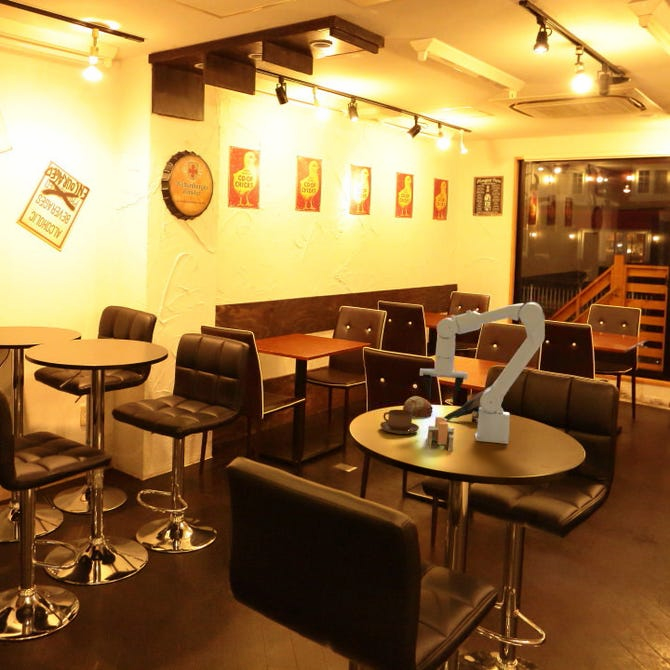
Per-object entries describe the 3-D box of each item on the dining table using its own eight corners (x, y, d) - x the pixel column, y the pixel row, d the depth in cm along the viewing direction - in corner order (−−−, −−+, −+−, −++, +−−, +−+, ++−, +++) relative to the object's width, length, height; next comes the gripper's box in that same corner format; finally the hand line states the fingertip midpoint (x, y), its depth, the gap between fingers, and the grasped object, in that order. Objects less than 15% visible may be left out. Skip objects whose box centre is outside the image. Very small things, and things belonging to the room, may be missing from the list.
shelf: (452, 439, 217) (454, 422, 217) (452, 451, 206) (454, 432, 205) (428, 437, 219) (429, 420, 218) (426, 448, 207) (427, 430, 206)
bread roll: (407, 420, 254) (399, 399, 253) (434, 410, 252) (426, 389, 251) (406, 427, 244) (397, 405, 243) (435, 416, 242) (426, 395, 242)
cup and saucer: (375, 433, 221) (376, 414, 220) (385, 424, 232) (386, 406, 231) (413, 439, 217) (415, 419, 216) (422, 429, 228) (423, 410, 227)
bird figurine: (448, 422, 235) (482, 371, 234) (439, 415, 245) (472, 366, 244) (480, 443, 237) (514, 393, 237) (470, 436, 247) (503, 387, 246)
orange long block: (442, 437, 215) (443, 417, 214) (446, 444, 207) (448, 424, 206) (434, 436, 215) (435, 417, 214) (438, 444, 207) (439, 423, 206)
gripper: (468, 357, 224) (464, 399, 226) (421, 353, 227) (418, 395, 229) (468, 360, 218) (465, 404, 219) (420, 356, 220) (417, 399, 222)
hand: (441, 400), depth 224 cm, fingers open, 7 cm apart
